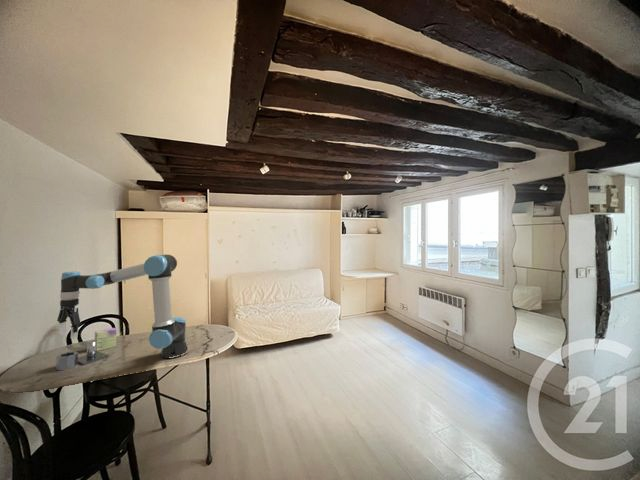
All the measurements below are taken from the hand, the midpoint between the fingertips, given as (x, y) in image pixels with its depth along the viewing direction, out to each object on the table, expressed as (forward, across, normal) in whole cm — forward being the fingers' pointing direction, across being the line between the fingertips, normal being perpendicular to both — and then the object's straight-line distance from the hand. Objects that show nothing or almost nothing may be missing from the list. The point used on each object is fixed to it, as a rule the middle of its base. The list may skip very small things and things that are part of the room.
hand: (68, 336), depth 143 cm
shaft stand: (+18, 0, -11) cm, 21 cm away
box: (+18, +12, -24) cm, 32 cm away
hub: (+18, 0, 0) cm, 18 cm away
